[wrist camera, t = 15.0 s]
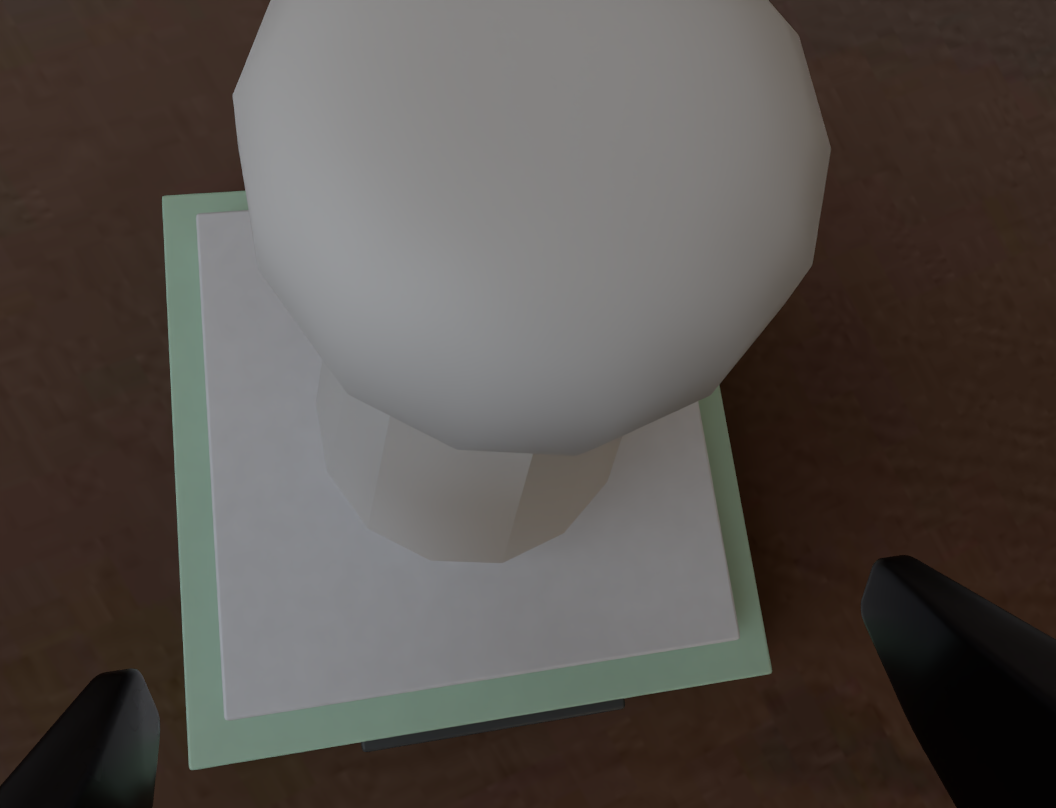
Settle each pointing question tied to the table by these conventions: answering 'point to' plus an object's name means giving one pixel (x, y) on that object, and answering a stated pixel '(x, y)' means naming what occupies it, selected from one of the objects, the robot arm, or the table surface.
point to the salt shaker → (521, 236)
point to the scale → (413, 554)
